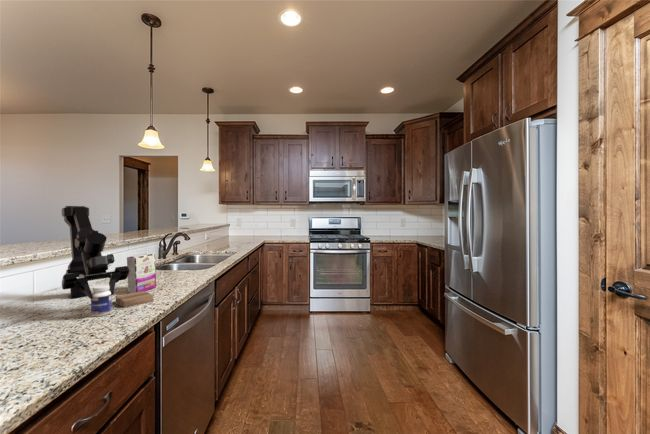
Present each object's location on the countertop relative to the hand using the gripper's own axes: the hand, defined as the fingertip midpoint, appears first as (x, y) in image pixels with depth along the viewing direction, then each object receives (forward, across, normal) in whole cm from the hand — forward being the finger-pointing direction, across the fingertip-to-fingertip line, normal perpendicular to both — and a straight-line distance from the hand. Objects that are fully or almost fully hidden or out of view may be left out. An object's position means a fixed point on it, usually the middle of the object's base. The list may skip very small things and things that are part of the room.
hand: (102, 296), depth 99 cm
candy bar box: (-12, +20, +21) cm, 32 cm away
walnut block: (-1, +12, +10) cm, 16 cm away
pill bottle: (+4, 0, +6) cm, 7 cm away
